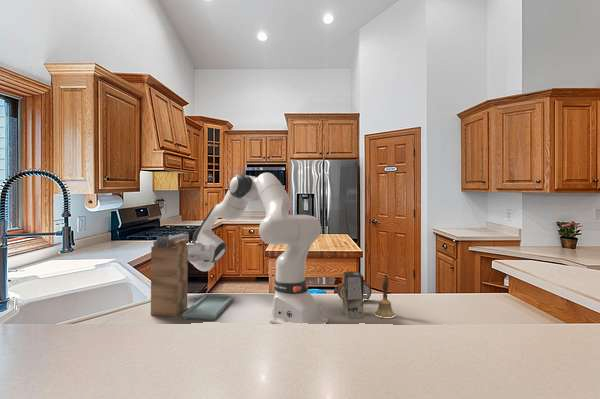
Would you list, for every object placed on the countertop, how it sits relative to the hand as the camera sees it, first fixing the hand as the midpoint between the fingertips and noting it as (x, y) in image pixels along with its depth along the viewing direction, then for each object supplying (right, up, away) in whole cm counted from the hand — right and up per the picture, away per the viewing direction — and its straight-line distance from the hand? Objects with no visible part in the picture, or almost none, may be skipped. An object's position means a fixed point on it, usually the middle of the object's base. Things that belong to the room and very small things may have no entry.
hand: (185, 242), depth 147 cm
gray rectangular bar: (-1, +1, -10) cm, 10 cm away
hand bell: (+83, -27, -13) cm, 88 cm away
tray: (+13, -25, -10) cm, 30 cm away
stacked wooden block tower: (-2, -25, -13) cm, 29 cm away
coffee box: (+70, -27, -13) cm, 76 cm away
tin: (+74, -27, +4) cm, 79 cm away
